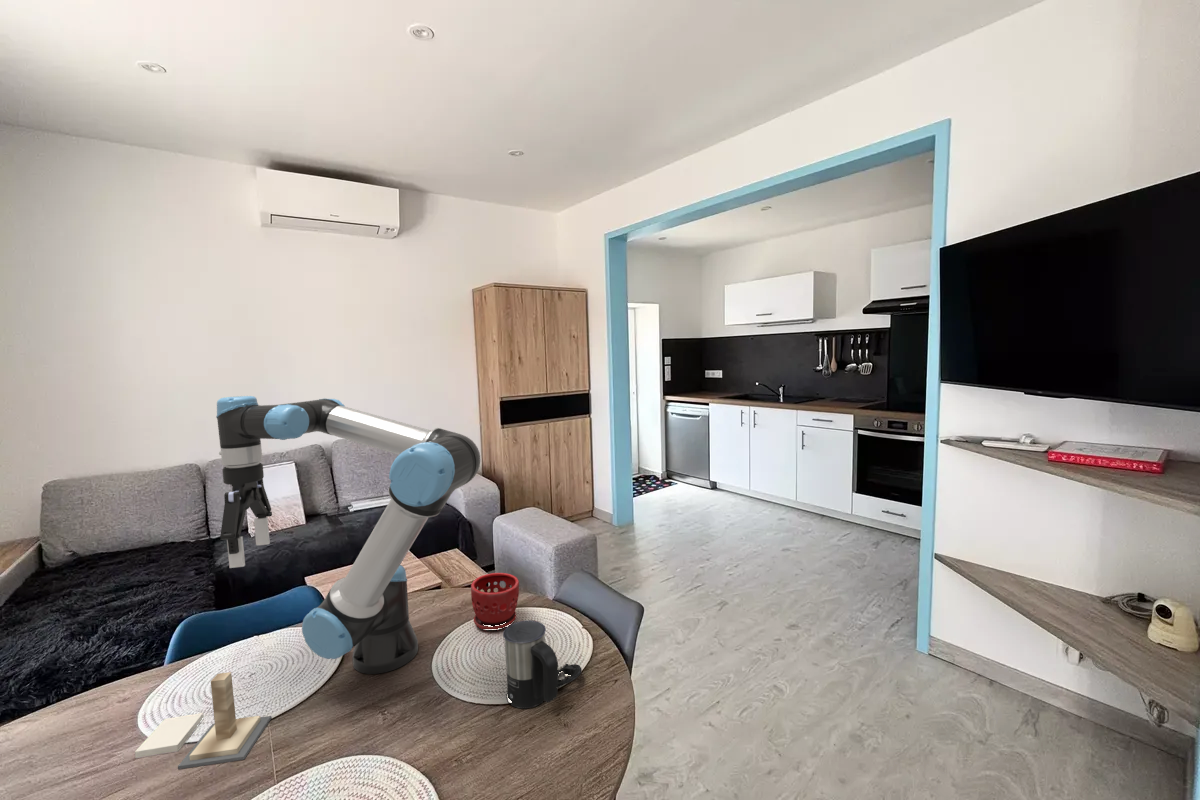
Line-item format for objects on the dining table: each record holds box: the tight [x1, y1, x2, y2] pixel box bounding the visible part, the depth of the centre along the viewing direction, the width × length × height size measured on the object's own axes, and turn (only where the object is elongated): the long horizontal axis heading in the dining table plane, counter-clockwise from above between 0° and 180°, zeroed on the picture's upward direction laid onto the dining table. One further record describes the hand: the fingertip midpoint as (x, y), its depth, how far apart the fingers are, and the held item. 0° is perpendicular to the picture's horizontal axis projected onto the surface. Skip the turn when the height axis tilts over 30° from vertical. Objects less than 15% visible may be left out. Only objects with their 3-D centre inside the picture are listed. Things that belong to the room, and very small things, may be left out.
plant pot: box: [470, 572, 520, 630], centre depth 141 cm, size 13×13×12 cm
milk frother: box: [502, 620, 582, 709], centre depth 112 cm, size 14×16×15 cm
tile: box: [134, 712, 205, 759], centre depth 101 cm, size 7×2×9 cm
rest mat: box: [177, 715, 272, 770], centre depth 99 cm, size 11×11×1 cm
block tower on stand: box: [190, 671, 261, 761], centre depth 98 cm, size 8×9×13 cm
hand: (251, 555), depth 116 cm, fingers open, 13 cm apart
